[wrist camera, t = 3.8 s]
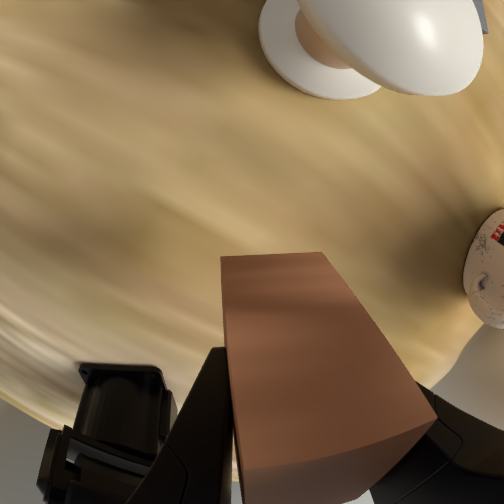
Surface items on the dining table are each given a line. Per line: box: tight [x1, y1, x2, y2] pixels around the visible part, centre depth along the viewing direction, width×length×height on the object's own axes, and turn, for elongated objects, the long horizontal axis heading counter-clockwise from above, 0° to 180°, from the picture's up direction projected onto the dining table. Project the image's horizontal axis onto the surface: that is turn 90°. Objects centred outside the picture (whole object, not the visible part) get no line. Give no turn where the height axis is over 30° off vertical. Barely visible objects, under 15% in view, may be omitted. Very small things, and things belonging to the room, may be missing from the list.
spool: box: [258, 0, 483, 100], centre depth 8 cm, size 7×7×7 cm
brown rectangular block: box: [220, 252, 438, 504], centre depth 7 cm, size 3×4×6 cm, turn 179°
